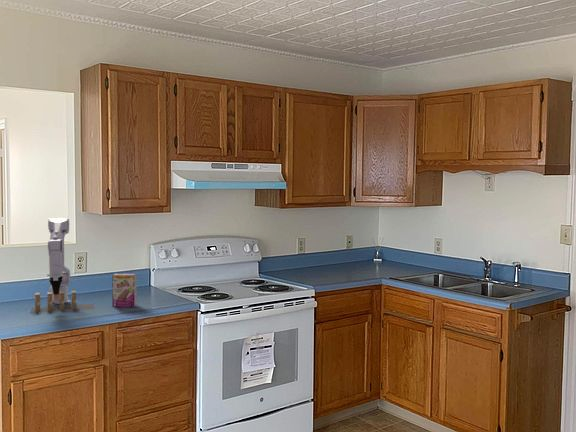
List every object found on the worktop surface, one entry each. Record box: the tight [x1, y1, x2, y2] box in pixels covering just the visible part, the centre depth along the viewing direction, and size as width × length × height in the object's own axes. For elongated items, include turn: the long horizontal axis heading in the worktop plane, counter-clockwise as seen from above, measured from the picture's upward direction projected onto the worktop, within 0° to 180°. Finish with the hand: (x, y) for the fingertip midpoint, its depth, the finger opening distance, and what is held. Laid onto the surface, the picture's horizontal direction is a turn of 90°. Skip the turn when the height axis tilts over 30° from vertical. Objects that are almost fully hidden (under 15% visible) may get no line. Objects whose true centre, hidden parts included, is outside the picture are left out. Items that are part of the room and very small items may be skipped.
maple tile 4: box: [71, 290, 77, 309], centre depth 289 cm, size 2×5×8 cm, turn 21°
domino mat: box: [29, 303, 95, 314], centre depth 288 cm, size 29×12×1 cm, turn 110°
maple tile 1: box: [34, 292, 41, 311], centre depth 283 cm, size 2×5×8 cm, turn 20°
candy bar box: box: [111, 273, 137, 308], centre depth 294 cm, size 11×5×16 cm, turn 92°
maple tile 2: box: [46, 291, 53, 310], centre depth 285 cm, size 2×5×8 cm, turn 20°
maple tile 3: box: [59, 291, 65, 310], centre depth 287 cm, size 2×5×8 cm, turn 21°
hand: (56, 293), depth 278 cm, fingers closed on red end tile, 5 cm apart
